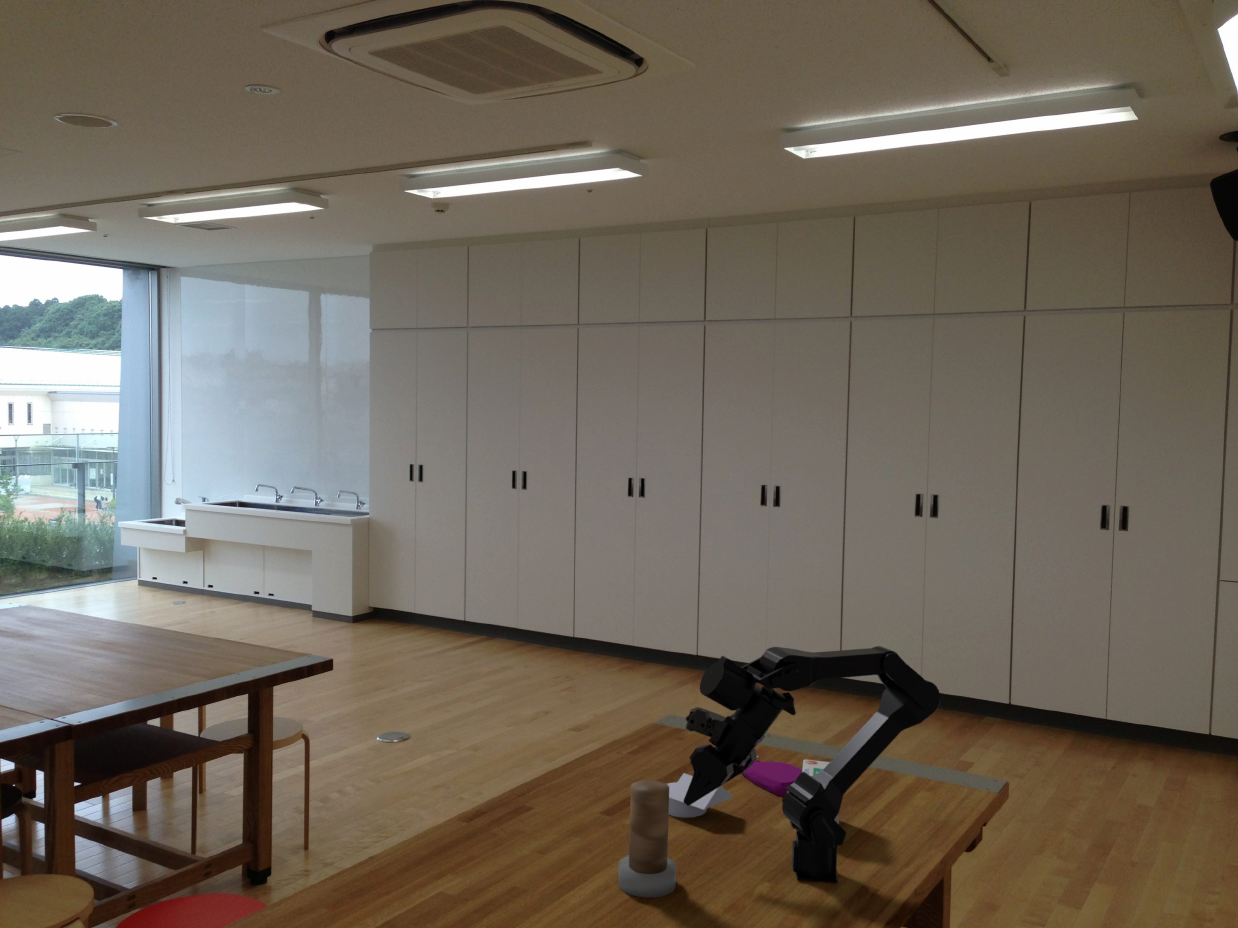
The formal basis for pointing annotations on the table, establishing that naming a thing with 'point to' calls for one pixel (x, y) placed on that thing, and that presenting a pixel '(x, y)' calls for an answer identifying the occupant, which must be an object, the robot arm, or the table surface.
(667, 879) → the slate pedestal
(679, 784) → the wedge on round base
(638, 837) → the walnut cylinder
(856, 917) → the table surface
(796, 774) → the spray bottle
